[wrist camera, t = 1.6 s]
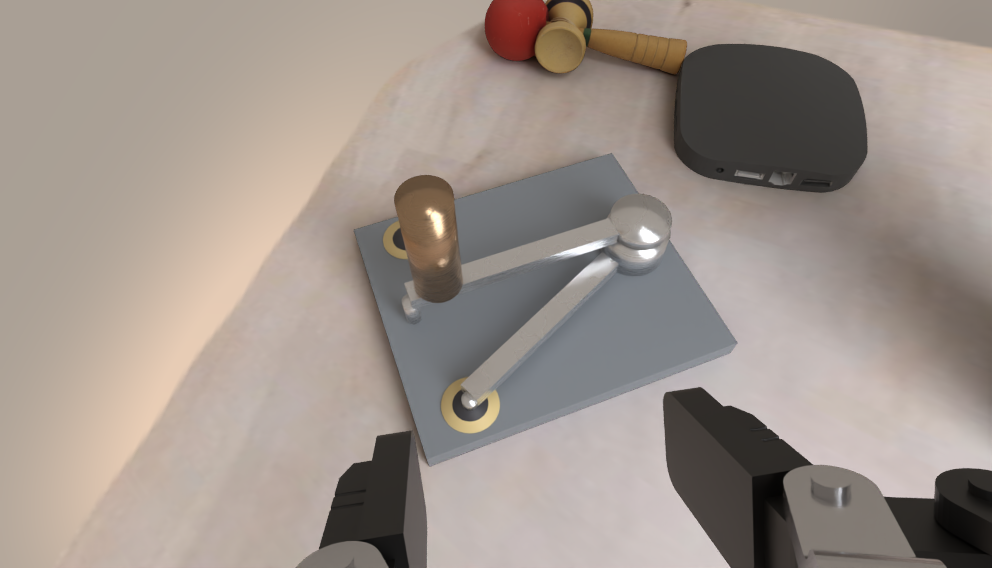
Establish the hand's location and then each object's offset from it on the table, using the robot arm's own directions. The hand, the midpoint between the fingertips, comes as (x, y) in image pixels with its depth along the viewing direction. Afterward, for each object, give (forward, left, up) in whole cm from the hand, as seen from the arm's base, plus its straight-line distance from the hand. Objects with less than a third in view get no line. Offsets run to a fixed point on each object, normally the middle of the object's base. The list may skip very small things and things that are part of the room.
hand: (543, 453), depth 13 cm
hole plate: (-12, -14, -24) cm, 31 cm away
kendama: (-31, -32, -25) cm, 51 cm away
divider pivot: (-12, -12, -23) cm, 28 cm away
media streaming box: (-38, -16, -25) cm, 48 cm away
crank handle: (-12, -14, -22) cm, 29 cm away
